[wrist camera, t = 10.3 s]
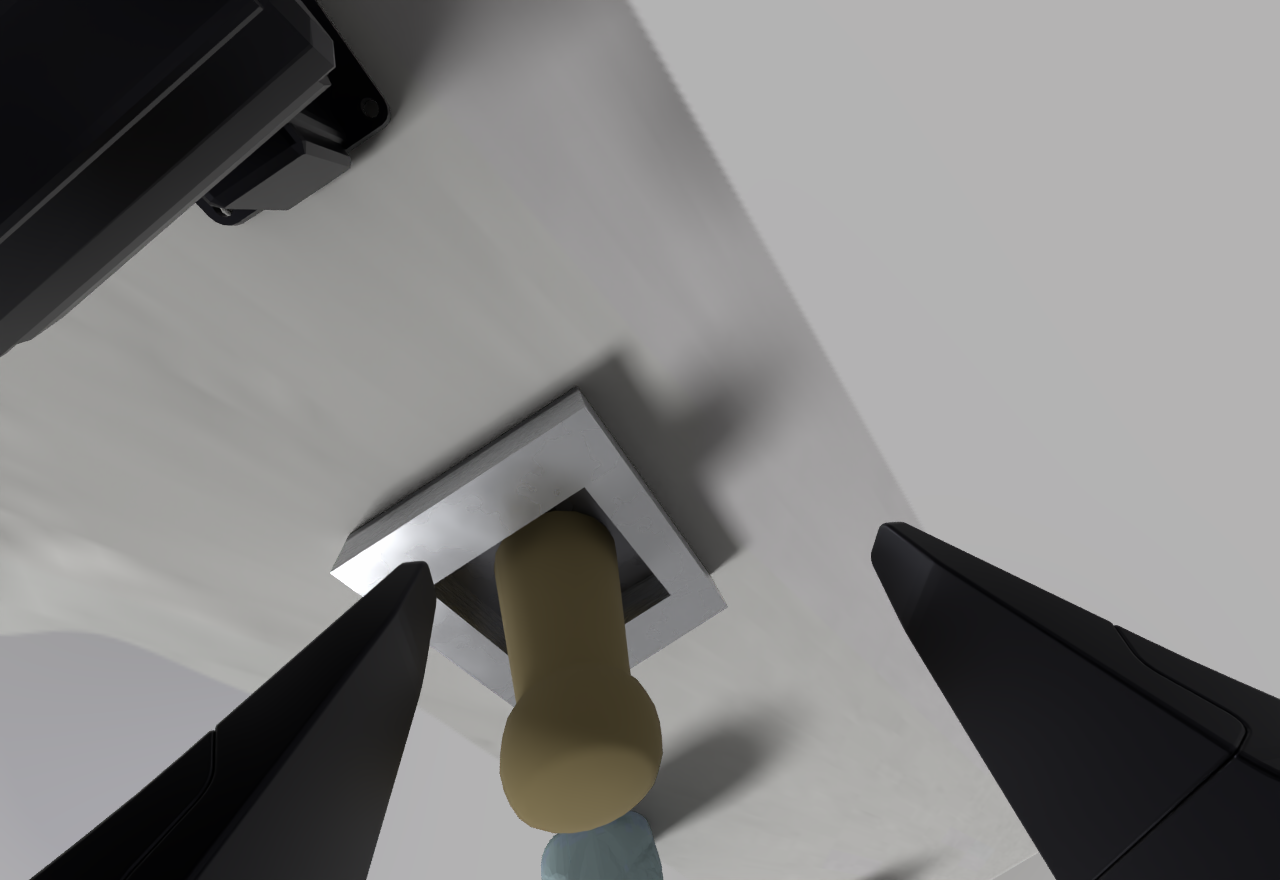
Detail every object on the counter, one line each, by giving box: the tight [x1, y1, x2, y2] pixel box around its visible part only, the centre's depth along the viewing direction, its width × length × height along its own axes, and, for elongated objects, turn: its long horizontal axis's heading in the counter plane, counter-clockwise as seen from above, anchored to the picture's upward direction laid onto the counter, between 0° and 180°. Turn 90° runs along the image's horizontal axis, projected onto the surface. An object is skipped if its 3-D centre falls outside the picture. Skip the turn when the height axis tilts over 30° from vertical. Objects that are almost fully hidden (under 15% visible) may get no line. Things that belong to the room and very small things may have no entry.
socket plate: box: [330, 386, 728, 707], centre depth 22 cm, size 14×12×3 cm
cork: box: [494, 511, 663, 833], centre depth 18 cm, size 6×6×11 cm
